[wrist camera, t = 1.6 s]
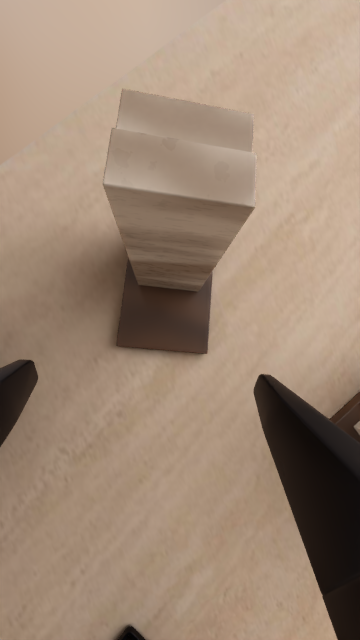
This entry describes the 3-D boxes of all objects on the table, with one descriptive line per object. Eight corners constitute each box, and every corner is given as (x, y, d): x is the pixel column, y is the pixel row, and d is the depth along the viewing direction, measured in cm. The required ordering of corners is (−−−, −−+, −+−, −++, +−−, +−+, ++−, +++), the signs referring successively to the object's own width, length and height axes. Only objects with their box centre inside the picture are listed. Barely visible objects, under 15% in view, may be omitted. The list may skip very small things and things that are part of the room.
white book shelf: (205, 353, 23) (285, 363, 8) (118, 345, 22) (34, 341, 7) (213, 228, 25) (287, 61, 11) (135, 216, 25) (97, 19, 10)
